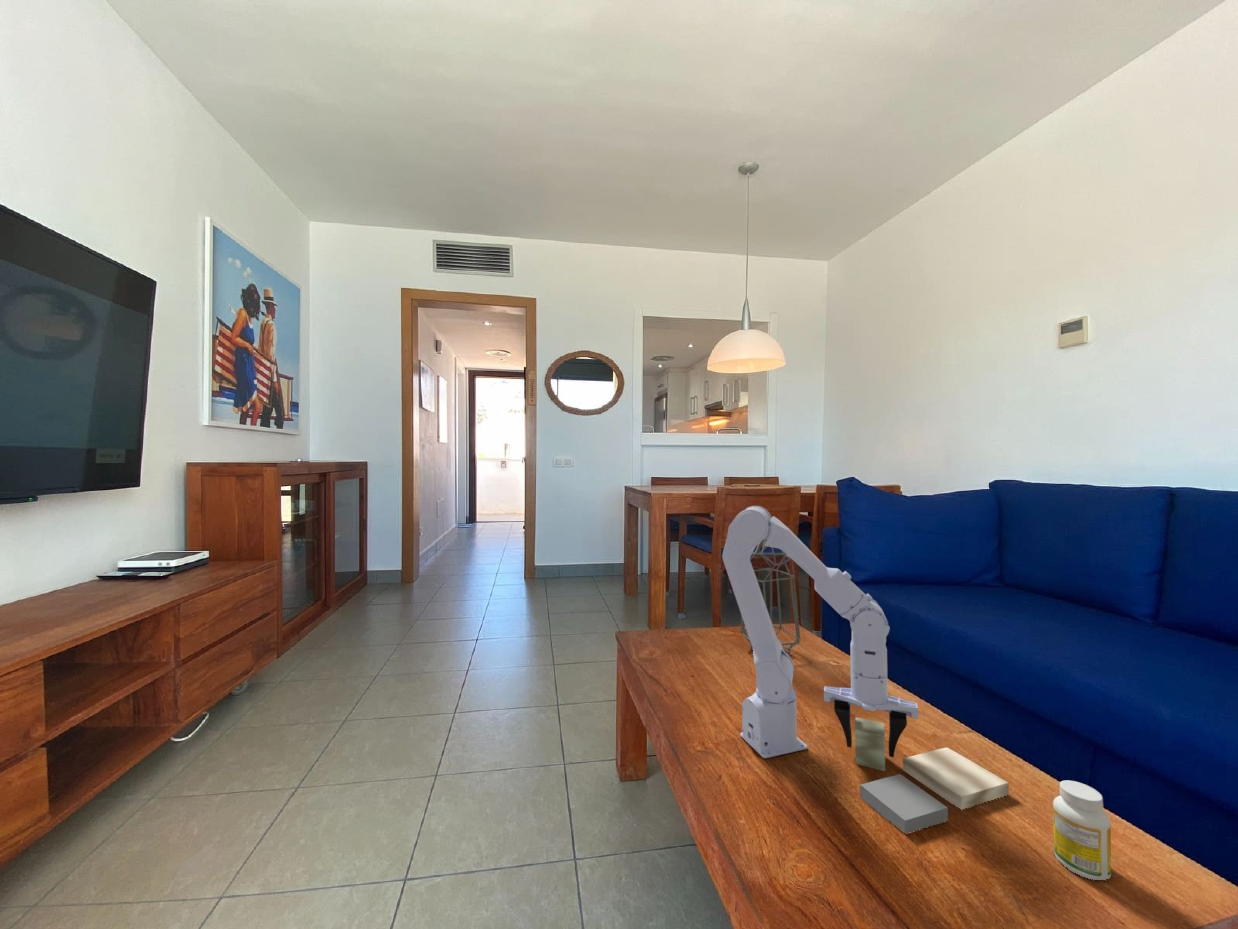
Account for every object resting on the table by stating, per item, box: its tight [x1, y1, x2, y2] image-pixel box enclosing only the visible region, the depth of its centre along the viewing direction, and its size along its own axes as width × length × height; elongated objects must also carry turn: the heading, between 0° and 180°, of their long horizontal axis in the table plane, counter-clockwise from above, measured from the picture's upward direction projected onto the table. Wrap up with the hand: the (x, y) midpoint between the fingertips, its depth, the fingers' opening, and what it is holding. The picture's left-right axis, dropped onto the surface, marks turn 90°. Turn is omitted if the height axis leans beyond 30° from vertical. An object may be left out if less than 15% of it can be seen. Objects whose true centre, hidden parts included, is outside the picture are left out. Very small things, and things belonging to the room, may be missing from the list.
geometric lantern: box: [740, 539, 801, 657], centre depth 133 cm, size 16×16×35 cm
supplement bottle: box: [1052, 779, 1112, 881], centre depth 62 cm, size 5×5×10 cm
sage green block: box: [854, 716, 886, 772], centre depth 84 cm, size 4×4×6 cm
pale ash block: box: [902, 747, 1010, 811], centre depth 78 cm, size 10×10×2 cm
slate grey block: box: [859, 773, 949, 835], centre depth 72 cm, size 8×8×2 cm
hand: (869, 749), depth 84 cm, fingers open, 6 cm apart
